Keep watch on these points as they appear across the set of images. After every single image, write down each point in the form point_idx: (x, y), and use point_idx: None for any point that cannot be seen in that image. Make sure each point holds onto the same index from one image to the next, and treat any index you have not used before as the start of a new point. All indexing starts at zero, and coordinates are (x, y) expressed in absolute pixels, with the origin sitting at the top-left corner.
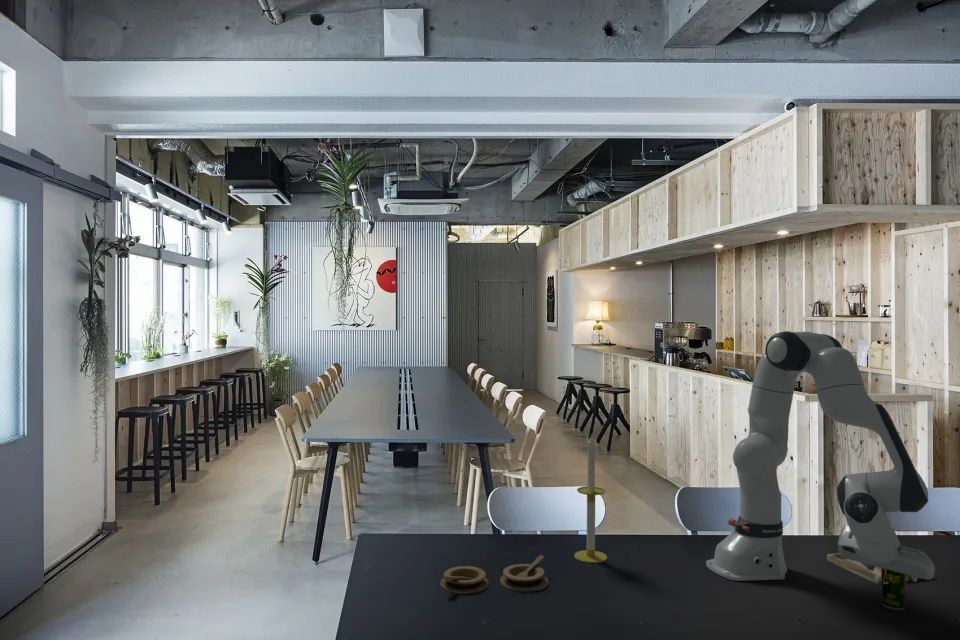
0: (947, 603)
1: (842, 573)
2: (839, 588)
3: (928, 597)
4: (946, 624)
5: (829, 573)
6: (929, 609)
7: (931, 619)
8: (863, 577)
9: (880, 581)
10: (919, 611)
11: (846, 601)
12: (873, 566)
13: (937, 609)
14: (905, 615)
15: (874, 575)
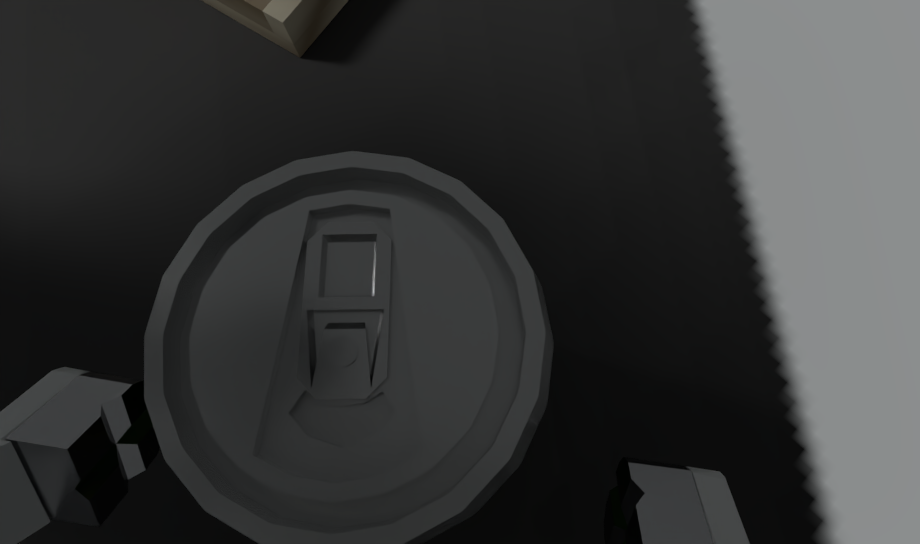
0: (697, 92)
1: (92, 16)
2: (79, 292)
3: (587, 69)
4: (788, 484)
5: (15, 66)
6: (635, 271)
7: (687, 458)
8: (211, 5)
9: (307, 30)
10: (591, 356)
11: (131, 528)
12: (121, 434)
13: (674, 235)
14: (529, 511)
15: (258, 7)
